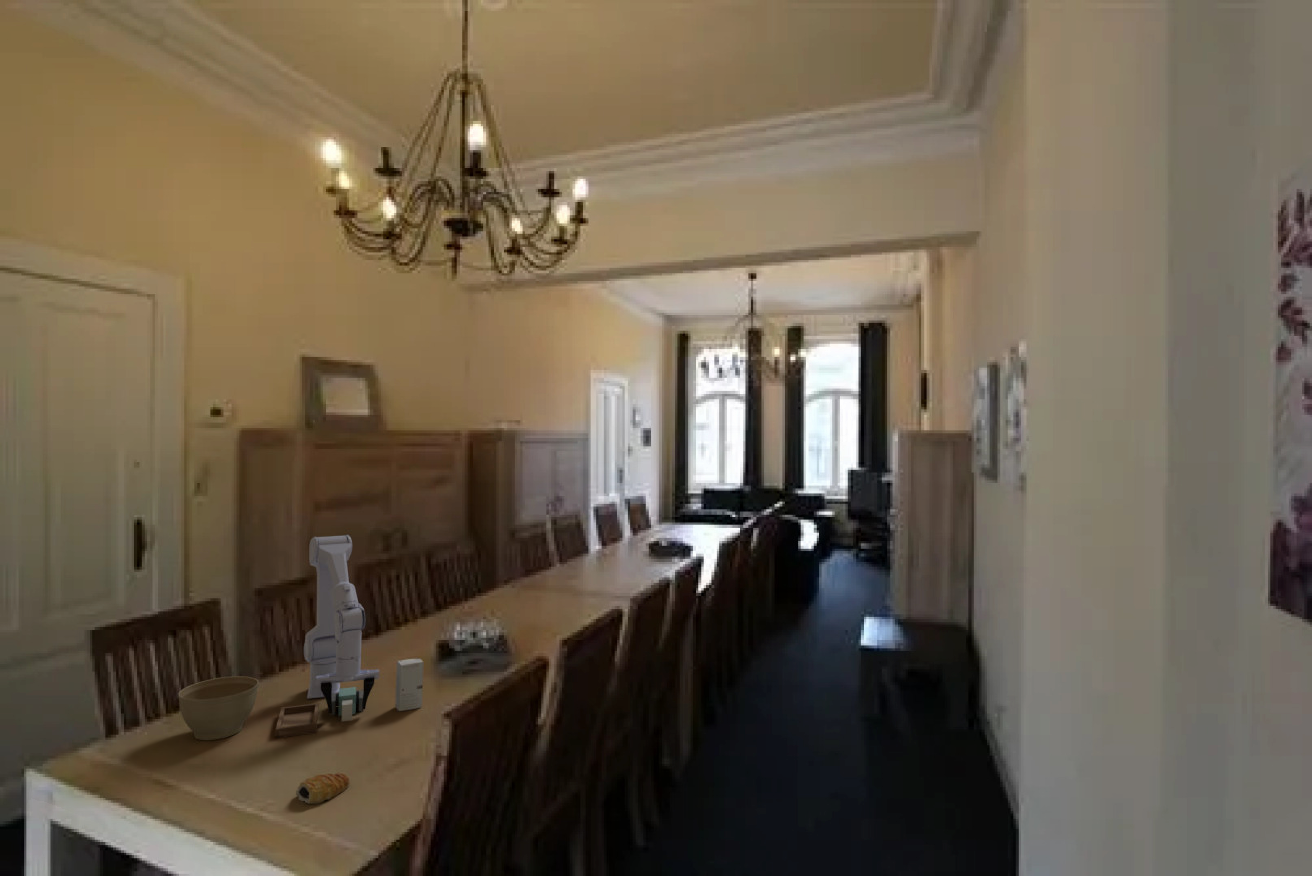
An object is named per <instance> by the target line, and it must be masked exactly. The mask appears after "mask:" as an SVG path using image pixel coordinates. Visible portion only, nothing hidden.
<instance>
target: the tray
mask: <svg viewBox="0 0 1312 876" xmlns="http://www.w3.org/2000/svg"><path fill="white" fill-rule="evenodd" d="M319 714H320V703H319V702H317V703H310V704H301V705H300V704H299V705H293V706H285V707H284V706H282V707H281V708H280V711H279V715H278V719H277V723H276V727H275V736H274V738H275V739H279V738H278V737H280V738H285V737H284V736H287V737H293V736H300V735H309V734H316V733H317V731H318V730H317V729H318V720H319Z"/></svg>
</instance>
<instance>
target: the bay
mask: <svg viewBox="0 0 1312 876" xmlns="http://www.w3.org/2000/svg"><path fill="white" fill-rule="evenodd" d="M362 701H363V689H356V704H357V705H358V712H359V711H361V712H364V709H363V710H362ZM336 706H339V692H336V693H332V714H330V716H335V715H336V708H337V707H336Z"/></svg>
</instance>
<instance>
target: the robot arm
mask: <svg viewBox="0 0 1312 876" xmlns="http://www.w3.org/2000/svg"><path fill="white" fill-rule="evenodd" d="M308 549H309V553H308V554H309V555H308V560H309V565H310V566H311V567H315V569H316V625H314V627H313V628H312V629H310V630H309V631H307V633H306V634H305V640H304V644H303V645H304V646H303V655H304V660H305V661H306V662H307V663H309V665H310V666H309V686H308V689H307V696H306V699H307V700H310V699H317V698H324V699H325V702H326V704H327V709H328V715H329V714H330V715H331V714H332V693H336V692H339V689H341V683H346V682H355V681H363V701H362V710H363V711H364V710H366V705H367V702H368V697H369V695H370V694H371V691H372V689H373V688H374V685H375V680H379V679H380V669H361V668H362V667H361V665H362V630H365V627H366V612H365V609H364V607H363V606H362V604H361V603H359V600H358V596H357V590H356V587H355V585H354V584H353V583H350V581H349V578H350V577H349V572H348V571H349V570H348V562H347V561H349V559H350V556H351V555H352V551H353V541H352V538H351V536H350V535H349V534H345V535H333V536H313V537H312V538H311V539H310V541H309V548H308Z"/></svg>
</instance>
